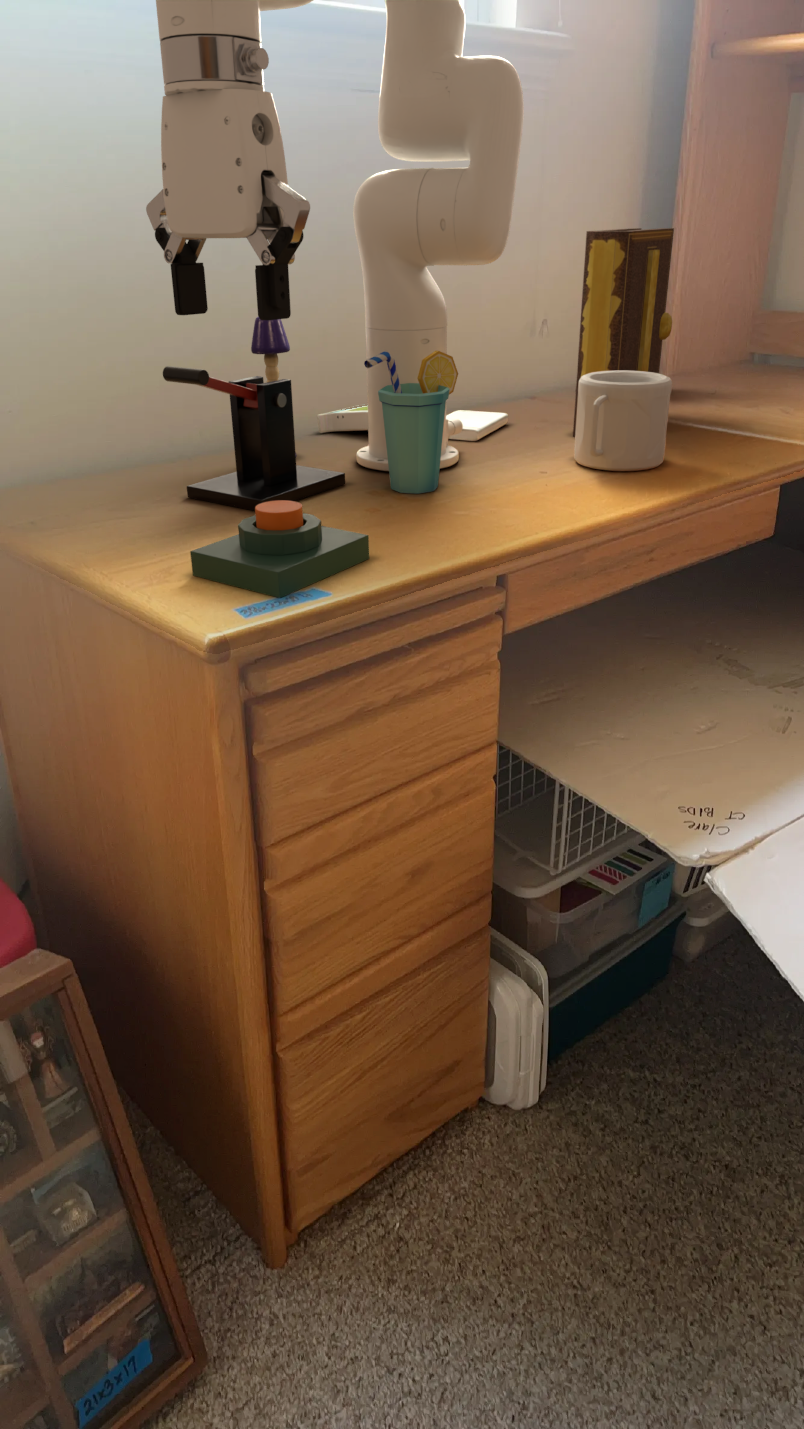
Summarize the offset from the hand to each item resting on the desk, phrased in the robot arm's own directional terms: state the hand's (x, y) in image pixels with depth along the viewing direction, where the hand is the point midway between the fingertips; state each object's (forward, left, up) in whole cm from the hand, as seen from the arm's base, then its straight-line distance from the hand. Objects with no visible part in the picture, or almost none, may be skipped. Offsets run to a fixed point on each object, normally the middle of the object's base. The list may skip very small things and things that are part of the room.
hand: (232, 316), depth 82 cm
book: (-72, +4, -20) cm, 74 cm away
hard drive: (-57, -12, -20) cm, 61 cm away
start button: (+2, +6, -16) cm, 18 cm away
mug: (-49, +14, -20) cm, 54 cm away
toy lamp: (-30, -23, -20) cm, 43 cm away
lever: (-11, -13, -10) cm, 20 cm away
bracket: (-17, -13, -20) cm, 29 cm away
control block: (+2, +6, -20) cm, 21 cm away
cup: (-26, 0, -20) cm, 33 cm away
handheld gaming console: (-45, -21, -18) cm, 52 cm away
